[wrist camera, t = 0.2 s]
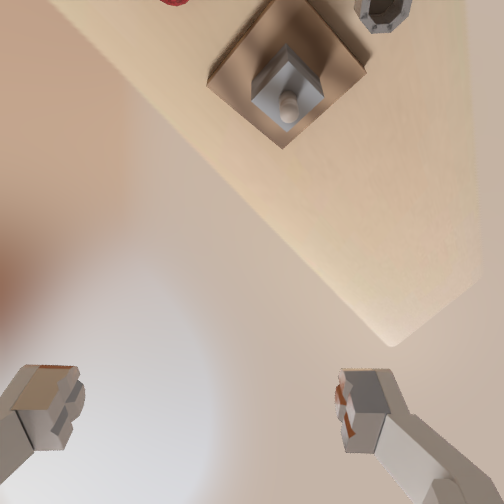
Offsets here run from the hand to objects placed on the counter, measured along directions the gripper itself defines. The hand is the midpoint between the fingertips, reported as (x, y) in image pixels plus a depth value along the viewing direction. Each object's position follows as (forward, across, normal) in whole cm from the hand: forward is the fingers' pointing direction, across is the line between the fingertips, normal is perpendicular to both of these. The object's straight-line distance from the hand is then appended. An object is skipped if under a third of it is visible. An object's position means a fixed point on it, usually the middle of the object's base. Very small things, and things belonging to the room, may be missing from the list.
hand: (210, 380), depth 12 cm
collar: (+50, -18, -14) cm, 54 cm away
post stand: (+53, -6, -5) cm, 53 cm away
